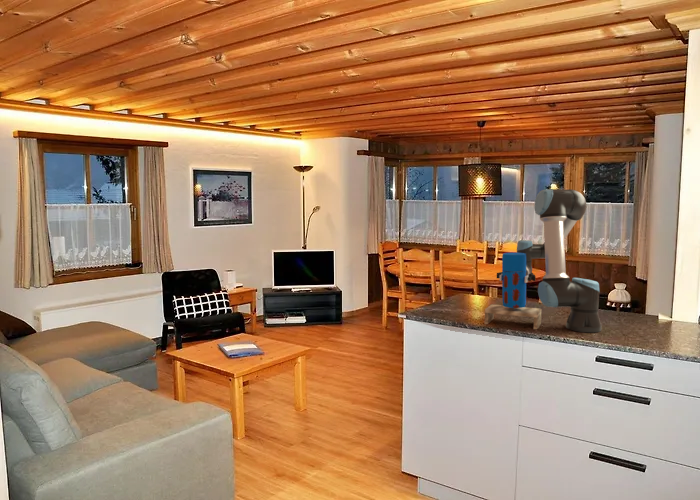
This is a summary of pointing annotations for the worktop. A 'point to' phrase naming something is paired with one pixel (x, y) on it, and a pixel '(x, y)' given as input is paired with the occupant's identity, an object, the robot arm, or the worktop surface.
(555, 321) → the worktop surface
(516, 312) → the stool
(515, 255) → the thermos
